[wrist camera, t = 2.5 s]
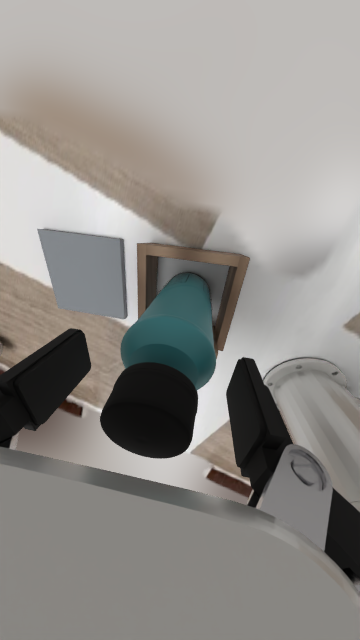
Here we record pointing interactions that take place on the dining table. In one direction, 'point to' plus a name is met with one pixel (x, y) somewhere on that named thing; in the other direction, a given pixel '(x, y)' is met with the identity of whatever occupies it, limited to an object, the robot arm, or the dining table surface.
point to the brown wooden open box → (237, 262)
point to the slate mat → (86, 272)
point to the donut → (1, 348)
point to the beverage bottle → (163, 371)
